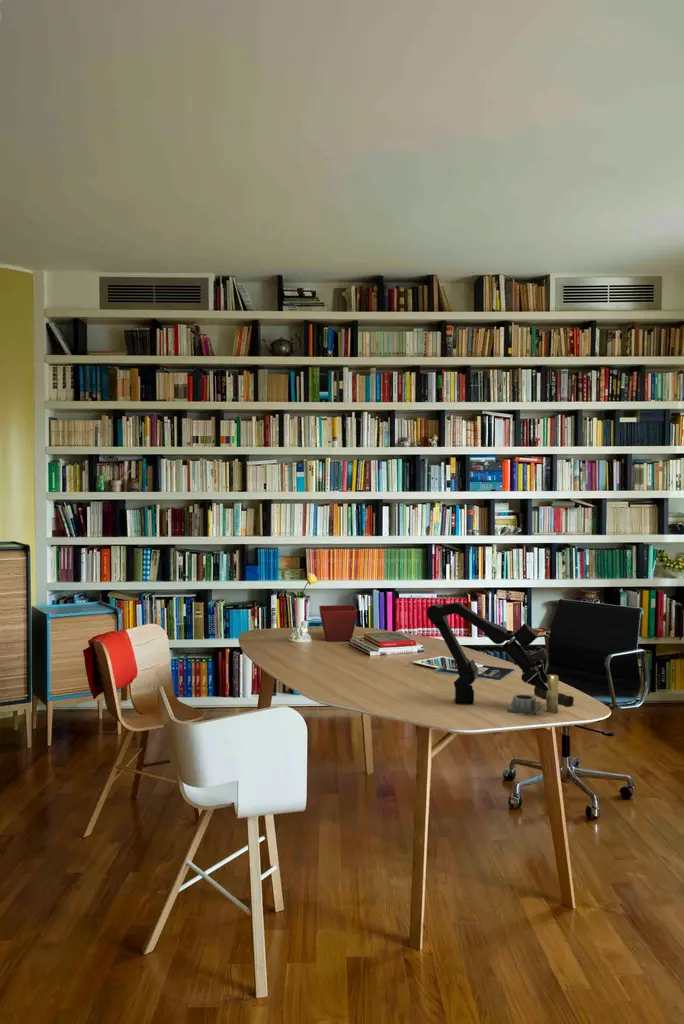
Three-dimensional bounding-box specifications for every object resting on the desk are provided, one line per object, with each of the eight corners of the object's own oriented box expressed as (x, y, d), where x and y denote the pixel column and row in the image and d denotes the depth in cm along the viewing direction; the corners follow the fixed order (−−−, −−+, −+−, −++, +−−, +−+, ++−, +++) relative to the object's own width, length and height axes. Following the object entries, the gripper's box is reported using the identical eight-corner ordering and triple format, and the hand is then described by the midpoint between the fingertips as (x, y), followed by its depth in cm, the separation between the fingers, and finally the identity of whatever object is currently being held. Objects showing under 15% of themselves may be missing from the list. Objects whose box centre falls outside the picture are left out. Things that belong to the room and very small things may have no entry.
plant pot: (320, 643, 402) (320, 610, 401) (318, 636, 421) (319, 605, 420) (357, 642, 403) (357, 610, 403) (353, 635, 422) (353, 605, 422)
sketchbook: (499, 682, 323) (499, 677, 323) (433, 674, 338) (433, 669, 338) (514, 672, 342) (514, 667, 342) (450, 664, 356) (450, 659, 356)
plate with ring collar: (507, 712, 278) (507, 700, 277) (513, 702, 291) (513, 691, 290) (535, 715, 274) (536, 703, 274) (540, 705, 287) (540, 693, 287)
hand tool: (574, 706, 287) (574, 693, 286) (566, 707, 285) (566, 695, 285) (539, 694, 303) (540, 682, 303) (531, 695, 302) (532, 683, 302)
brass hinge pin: (547, 713, 277) (548, 677, 276) (545, 710, 281) (545, 674, 280) (559, 713, 277) (559, 677, 276) (556, 710, 281) (556, 674, 280)
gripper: (530, 645, 272) (563, 679, 268) (537, 636, 289) (567, 667, 285) (508, 665, 275) (539, 699, 271) (515, 655, 292) (545, 686, 288)
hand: (549, 687), depth 279 cm, fingers open, 9 cm apart
